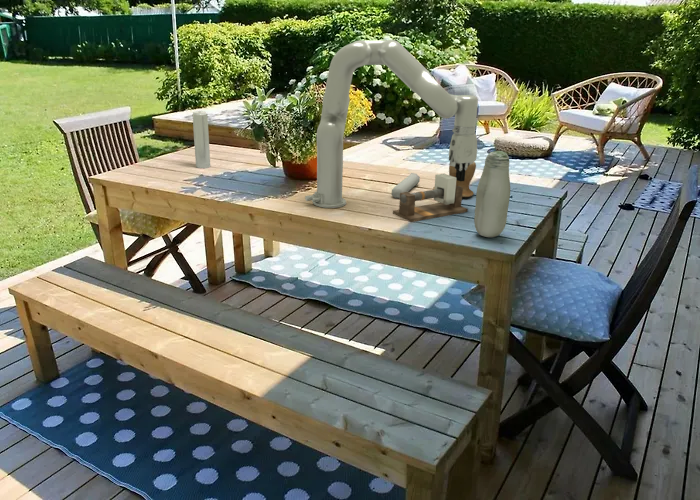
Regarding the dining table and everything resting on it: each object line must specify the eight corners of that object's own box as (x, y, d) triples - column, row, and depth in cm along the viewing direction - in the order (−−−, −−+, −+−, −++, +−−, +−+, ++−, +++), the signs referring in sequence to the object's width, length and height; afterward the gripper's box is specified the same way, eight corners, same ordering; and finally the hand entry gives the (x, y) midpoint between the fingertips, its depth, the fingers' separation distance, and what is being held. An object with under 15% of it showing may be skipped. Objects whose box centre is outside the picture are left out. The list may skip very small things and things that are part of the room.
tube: (404, 190, 236) (421, 176, 258) (392, 185, 237) (410, 170, 259) (399, 202, 239) (417, 187, 260) (387, 196, 240) (406, 181, 262)
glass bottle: (494, 243, 194) (505, 156, 184) (467, 235, 200) (475, 151, 190) (509, 236, 201) (520, 151, 191) (482, 228, 207) (491, 147, 197)
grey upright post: (208, 168, 278) (205, 112, 269) (194, 168, 278) (190, 112, 269) (211, 165, 284) (208, 110, 275) (197, 164, 284) (194, 110, 275)
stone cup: (478, 194, 248) (482, 158, 242) (466, 201, 239) (469, 163, 233) (444, 188, 256) (447, 153, 250) (431, 194, 247) (434, 157, 241)
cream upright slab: (445, 204, 221) (448, 179, 217) (433, 199, 226) (435, 174, 223) (454, 203, 223) (456, 177, 219) (441, 198, 228) (443, 173, 225)
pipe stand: (411, 222, 212) (412, 198, 209) (392, 213, 221) (393, 190, 218) (467, 211, 225) (469, 189, 222) (447, 204, 234) (449, 182, 231)
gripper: (455, 134, 212) (451, 185, 219) (487, 131, 220) (481, 180, 226) (441, 130, 218) (437, 180, 225) (472, 127, 226) (468, 176, 232)
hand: (459, 180), depth 226 cm, fingers closed
